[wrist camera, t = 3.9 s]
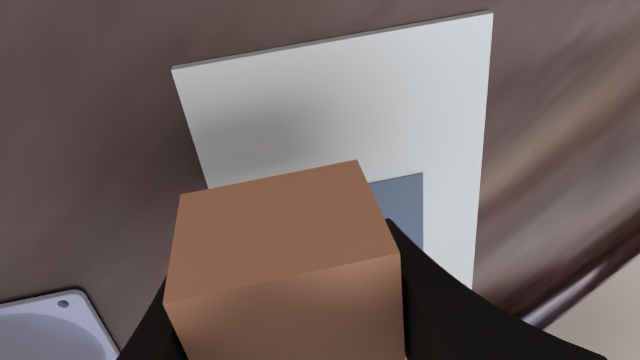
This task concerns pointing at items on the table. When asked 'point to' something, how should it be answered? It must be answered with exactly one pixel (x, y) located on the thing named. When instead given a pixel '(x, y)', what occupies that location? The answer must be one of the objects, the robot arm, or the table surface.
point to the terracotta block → (286, 270)
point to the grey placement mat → (359, 121)
